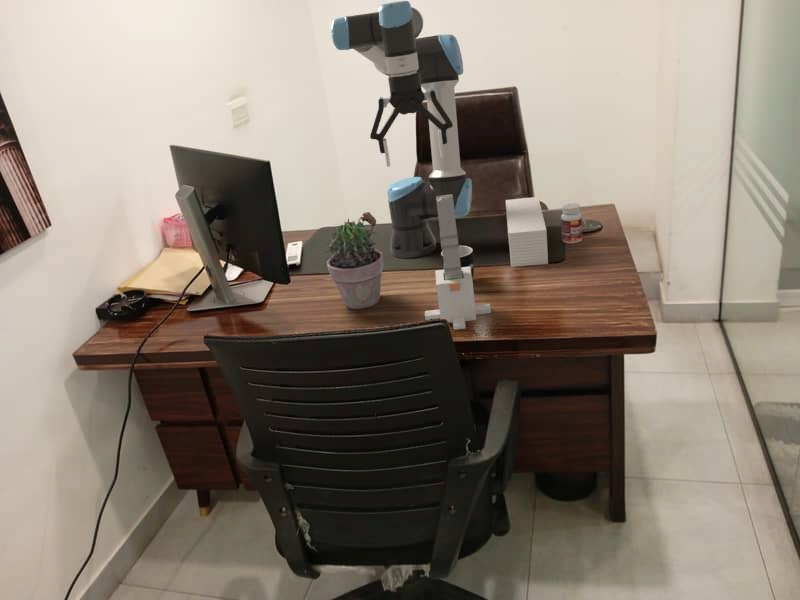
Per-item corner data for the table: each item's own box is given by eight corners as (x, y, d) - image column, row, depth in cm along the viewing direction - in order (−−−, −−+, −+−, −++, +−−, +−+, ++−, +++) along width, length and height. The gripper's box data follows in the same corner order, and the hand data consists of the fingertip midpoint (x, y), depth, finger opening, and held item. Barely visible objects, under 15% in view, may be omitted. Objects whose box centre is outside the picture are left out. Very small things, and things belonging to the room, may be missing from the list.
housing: (425, 303, 182) (420, 266, 178) (487, 296, 181) (484, 258, 176) (425, 332, 167) (420, 293, 162) (493, 325, 166) (490, 284, 161)
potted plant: (313, 310, 188) (295, 227, 178) (361, 284, 201) (346, 204, 190) (358, 324, 177) (342, 235, 166) (406, 294, 189) (393, 210, 179)
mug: (474, 290, 186) (470, 256, 181) (442, 291, 188) (438, 258, 184) (478, 273, 196) (475, 240, 192) (448, 274, 198) (445, 242, 194)
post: (446, 285, 173) (435, 196, 163) (462, 283, 173) (452, 193, 163) (446, 292, 169) (435, 201, 159) (463, 290, 169) (453, 199, 159)
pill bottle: (572, 245, 205) (571, 210, 200) (557, 241, 210) (556, 207, 205) (586, 239, 208) (585, 204, 203) (571, 235, 213) (570, 201, 208)
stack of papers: (507, 230, 226) (505, 199, 221) (540, 227, 224) (538, 196, 219) (511, 267, 197) (508, 233, 193) (548, 264, 195) (546, 229, 191)
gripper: (350, 83, 155) (365, 172, 164) (457, 67, 154) (466, 157, 163) (352, 78, 162) (366, 164, 171) (454, 63, 160) (463, 150, 170)
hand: (415, 161), depth 167 cm, fingers open, 13 cm apart
